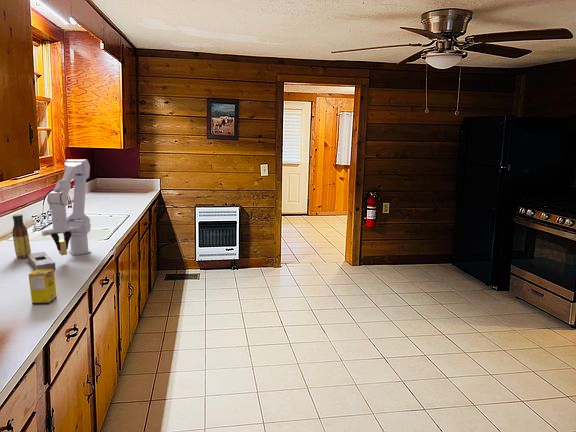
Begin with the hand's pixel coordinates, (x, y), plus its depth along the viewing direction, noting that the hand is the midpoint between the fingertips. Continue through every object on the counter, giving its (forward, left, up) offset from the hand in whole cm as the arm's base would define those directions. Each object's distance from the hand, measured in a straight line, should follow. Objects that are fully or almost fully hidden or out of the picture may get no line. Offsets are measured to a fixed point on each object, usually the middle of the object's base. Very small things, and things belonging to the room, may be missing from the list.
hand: (62, 249), depth 213 cm
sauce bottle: (-22, -13, -6) cm, 26 cm away
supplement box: (+46, -17, -6) cm, 49 cm away
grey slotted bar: (-3, -9, -6) cm, 11 cm away
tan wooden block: (0, 0, -2) cm, 2 cm away
